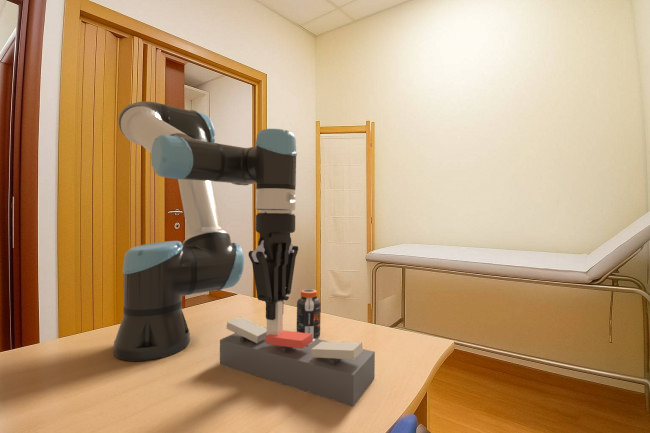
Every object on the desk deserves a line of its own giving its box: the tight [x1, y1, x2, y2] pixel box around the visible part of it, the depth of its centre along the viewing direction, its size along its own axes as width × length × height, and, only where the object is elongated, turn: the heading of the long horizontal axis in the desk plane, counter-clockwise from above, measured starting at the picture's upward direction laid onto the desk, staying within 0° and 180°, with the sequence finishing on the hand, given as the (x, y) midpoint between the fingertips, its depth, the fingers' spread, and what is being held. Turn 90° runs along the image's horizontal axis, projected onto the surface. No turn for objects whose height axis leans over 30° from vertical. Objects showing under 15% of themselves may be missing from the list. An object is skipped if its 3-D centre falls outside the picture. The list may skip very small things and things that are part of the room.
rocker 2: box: [311, 341, 364, 359], centre depth 56 cm, size 8×4×1 cm, turn 62°
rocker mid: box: [266, 330, 313, 349], centre depth 61 cm, size 8×4×1 cm, turn 62°
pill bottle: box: [296, 288, 322, 339], centre depth 81 cm, size 6×6×11 cm
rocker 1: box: [226, 316, 267, 343], centre depth 66 cm, size 8×4×1 cm, turn 62°
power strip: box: [219, 326, 376, 407], centre depth 63 cm, size 29×10×6 cm, turn 62°
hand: (274, 334), depth 63 cm, fingers closed
